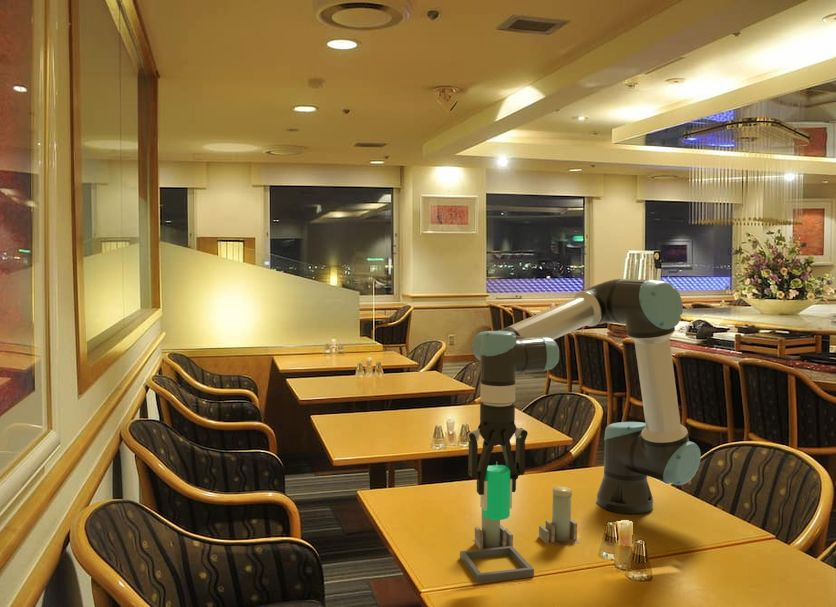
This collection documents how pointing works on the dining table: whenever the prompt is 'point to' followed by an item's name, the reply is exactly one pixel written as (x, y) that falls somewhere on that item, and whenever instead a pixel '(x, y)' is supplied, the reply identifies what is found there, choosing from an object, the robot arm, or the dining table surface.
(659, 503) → the dining table surface
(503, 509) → the candle
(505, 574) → the tray
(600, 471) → the dining table surface
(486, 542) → the fuse
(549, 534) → the fuse clips
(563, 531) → the cream round cylinder
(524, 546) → the dining table surface
